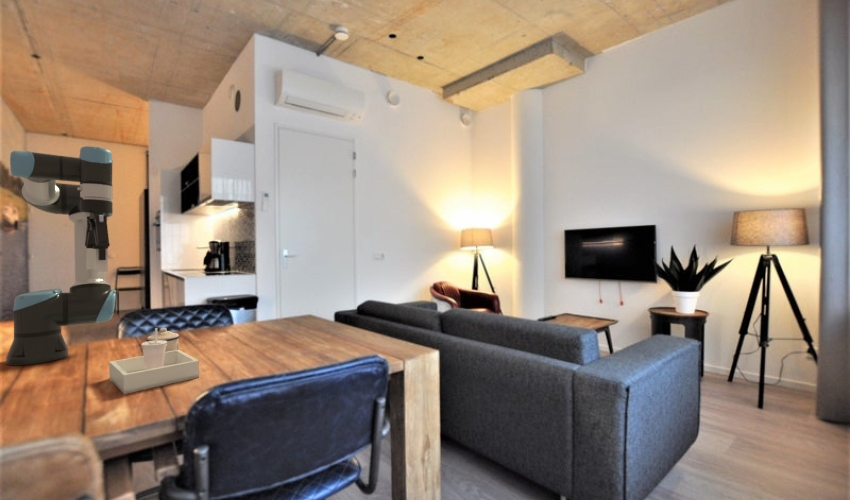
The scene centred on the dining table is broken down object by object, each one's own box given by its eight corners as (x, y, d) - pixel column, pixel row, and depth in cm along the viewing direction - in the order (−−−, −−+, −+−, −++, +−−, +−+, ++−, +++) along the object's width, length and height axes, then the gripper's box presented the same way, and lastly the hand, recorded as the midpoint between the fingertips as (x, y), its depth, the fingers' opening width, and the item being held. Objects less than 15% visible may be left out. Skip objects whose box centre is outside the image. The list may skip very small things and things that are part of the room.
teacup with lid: (183, 363, 131) (183, 328, 131) (151, 369, 124) (151, 332, 124) (170, 356, 139) (170, 323, 138) (139, 362, 132) (139, 327, 131)
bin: (109, 378, 115) (109, 361, 115) (178, 364, 129) (178, 349, 129) (124, 394, 103) (124, 375, 103) (198, 377, 117) (198, 360, 117)
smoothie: (153, 379, 112) (154, 330, 112) (135, 377, 114) (135, 329, 114) (172, 372, 119) (172, 326, 118) (154, 371, 120) (155, 325, 120)
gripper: (73, 201, 123) (73, 268, 124) (88, 195, 107) (88, 273, 107) (103, 203, 129) (103, 267, 129) (122, 198, 113) (122, 272, 113)
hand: (96, 270), depth 118 cm, fingers open, 13 cm apart
